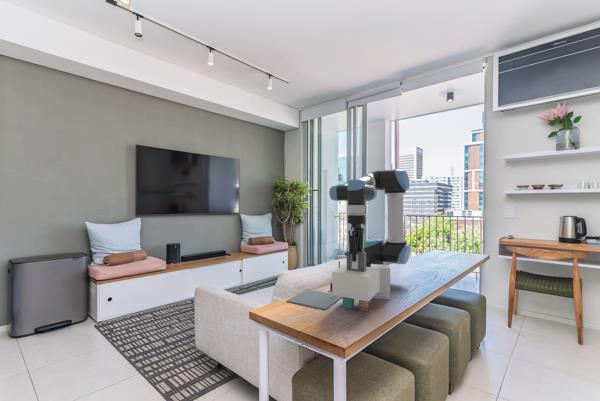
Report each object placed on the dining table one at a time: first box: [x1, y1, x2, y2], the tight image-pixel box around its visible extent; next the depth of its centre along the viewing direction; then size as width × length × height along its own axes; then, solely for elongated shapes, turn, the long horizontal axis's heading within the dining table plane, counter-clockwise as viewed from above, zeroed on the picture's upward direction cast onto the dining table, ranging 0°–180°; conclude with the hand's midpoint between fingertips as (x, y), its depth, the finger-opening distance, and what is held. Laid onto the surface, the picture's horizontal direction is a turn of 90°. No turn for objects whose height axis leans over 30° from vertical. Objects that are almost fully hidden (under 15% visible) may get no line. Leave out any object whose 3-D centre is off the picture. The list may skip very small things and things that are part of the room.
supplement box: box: [371, 264, 391, 301], centre depth 144 cm, size 9×9×15 cm
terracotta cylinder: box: [358, 300, 369, 312], centre depth 127 cm, size 4×4×5 cm
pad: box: [286, 288, 343, 311], centre depth 139 cm, size 20×20×1 cm
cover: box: [331, 250, 380, 302], centre depth 129 cm, size 16×16×18 cm
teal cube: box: [342, 297, 355, 309], centre depth 131 cm, size 4×4×4 cm
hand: (356, 267), depth 129 cm, fingers closed on cover, 3 cm apart
